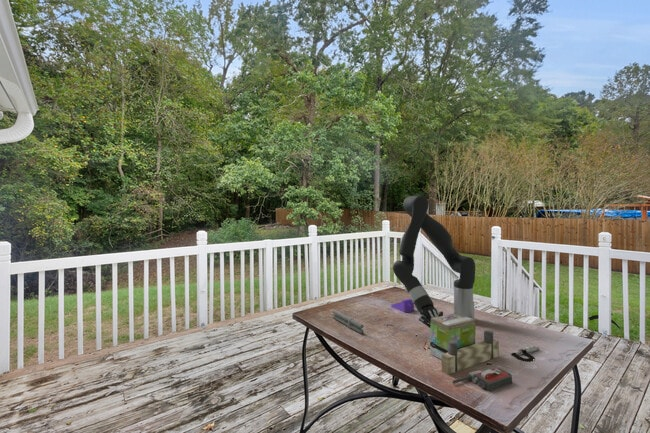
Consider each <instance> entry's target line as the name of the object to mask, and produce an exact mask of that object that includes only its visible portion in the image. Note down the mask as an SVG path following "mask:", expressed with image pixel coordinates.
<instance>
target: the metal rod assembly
mask: <svg viewBox="0 0 650 433" xmlns="http://www.w3.org/2000/svg"><path fill="white" fill-rule="evenodd" d="M332 313H333V315H332V318H333V319H335V320H336V321H338V322H340V323H342V324H343V325H345V326H347V327H348V328H349V329H351V330H352V329H353V330H354V331H356V332H357V333H359V334H361V335H363V334H364V329H363V328H364V325H363V324H362V323H361V322H359V321H357V320H355V319H354V318H352V317H349V316H348V315H346V314H345V313H344V314H343V313H342V312H340V311H338V310H336V309H334V310H332Z"/></svg>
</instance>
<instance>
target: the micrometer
mask: <svg viewBox="0 0 650 433" xmlns="http://www.w3.org/2000/svg"><path fill="white" fill-rule="evenodd" d="M539 350H540V347H539V346H535V345H532V346H528V347H526V348H524V347H521V348H520V349H518V351H516V352H512V353H510V355H511V356H512V357H514V358H515V359H517V360H518V361H521V362H529V363H532V362H534V361H533V359H535V357H534V356H533V355H532V354H531V352H532V353H535V352H537V351H539ZM534 351H535V352H534ZM520 355H522V356H523V355H524V356H525V358H524V357H522V356H520ZM526 357H527V358H526ZM535 360H536V359H535ZM531 361H532V362H531Z"/></svg>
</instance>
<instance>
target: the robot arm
mask: <svg viewBox="0 0 650 433" xmlns="http://www.w3.org/2000/svg"><path fill="white" fill-rule="evenodd" d="M403 209H404V211H405V212H406V213H407V214H408V215H409V217H411V219H410V222H409V224H408V226H407V228H406V230H405V231H404V233H403V235H402V237H401V240H400V245H399V251H398V252H399V255H400V256H401V260H397V261H394V263H393V264H392V270H393V273H394V275H395V277H396V278H397V279H398V280H399V282H400V283H401V284H403V286H404V288H405V290H406V291H407V293H408V295H409V297H410V299H412V301H413V303H414V307H415V308H416V310H417V311H418V312H419V314H420V317H419V318H418V321H419V322H421V323H422V324H423V325H425V326H427V327H428V328H429V329H430V324H431V318H435V317H440V316H444V312H443V311H439V310H437V308H436V307H435V306H434V301H433V300H432V298H431V297H430V295H429V294H428V292H427V290H426V289H425V288H424V286H423V285H422V283H421V281H420V279H418V277H417V276H415V275H413V273H414V270H415V256H414V255H415V250H416V245H417V242H418V241H417V240H418V237H419V235H420V234H419V233H420V232H421V231H420V230H422V231H423V233H424V234H425V235H426V236H427V237H428V239H429V240H430V241H431V242H432V244H433V245H434V246H435V248H437V251H439V253H440V254H441V255H442V257H444V259H445V261H446V262H447V264H448V265H449V268H451V270H452V271H454V272H455V273H458V274H459V279H455V280H454V281H453V314H454V313H458V314H461V315H463V316H466V317H469V318H472V319H475V301H474V284H475V280H476V262H475V260H474V259H473V258H472V257H470V256H465V255H461V254H460V253H459V252H458V251H457V250H456V249H455V248H454V246H453V240H452V236H451V234H450V232H449V231H448V230H447V228H445V226H444V225H443V224H442V223H440V222H439V221H438V220H436V219H435V218H433V217H432V216H430V215H429V214H428V213H427V212H428V209H429V200H428V198H427V197H426V196H424V195H421V194H420V195H419V194H417V195H410V196H406V198H405V199H404V200H403Z"/></svg>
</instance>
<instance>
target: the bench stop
mask: <svg viewBox="0 0 650 433" xmlns="http://www.w3.org/2000/svg"><path fill="white" fill-rule="evenodd" d="M499 356H500V341H499V340H497V339H494V331H493V330H489V329H488V330H484V331H483V340H482V341H480V342H475V344H473V345H470V346H467V347H464V348H460V349H457V342H455V341H448V353H445V354H442V360H441V372H444V373H445V374H447V375H451V374H454V373H457V372H460V371H463V370H465V369H468V368H470V367H473V366H476V365H479V364H482V363H484V362H487V361H490V360H494V359H495V358H498V357H499Z"/></svg>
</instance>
